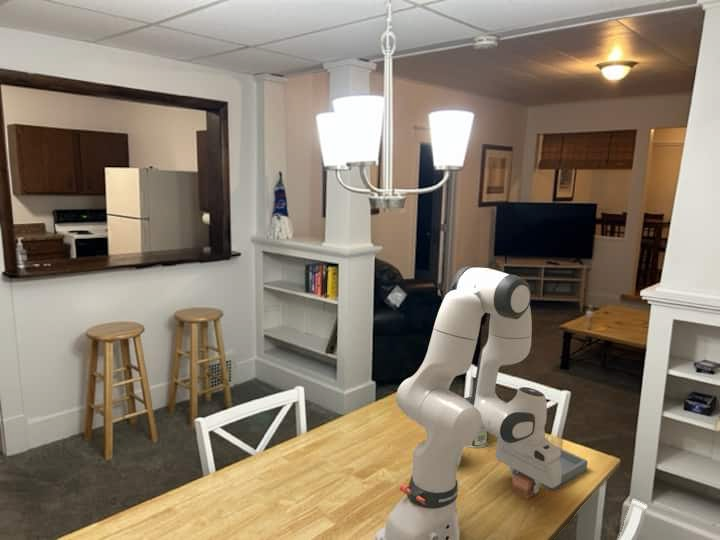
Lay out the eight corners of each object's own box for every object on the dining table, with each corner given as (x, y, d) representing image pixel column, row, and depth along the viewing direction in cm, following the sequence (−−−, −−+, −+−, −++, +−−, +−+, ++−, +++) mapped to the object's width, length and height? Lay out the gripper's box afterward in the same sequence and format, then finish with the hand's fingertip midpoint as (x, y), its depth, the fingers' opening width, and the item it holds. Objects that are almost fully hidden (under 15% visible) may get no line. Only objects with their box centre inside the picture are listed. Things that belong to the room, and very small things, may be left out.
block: (526, 498, 148) (528, 483, 147) (512, 490, 152) (513, 475, 151) (537, 492, 151) (538, 477, 150) (522, 484, 155) (523, 469, 154)
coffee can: (468, 430, 188) (470, 394, 186) (493, 440, 181) (496, 402, 179) (452, 440, 181) (453, 402, 178) (477, 451, 174) (480, 412, 171)
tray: (553, 491, 152) (554, 480, 151) (513, 469, 163) (514, 459, 162) (586, 471, 163) (587, 460, 162) (547, 452, 174) (547, 442, 173)
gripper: (492, 431, 155) (489, 473, 158) (553, 461, 139) (549, 507, 142) (505, 425, 159) (502, 467, 161) (566, 453, 143) (562, 499, 145)
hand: (525, 486), depth 151 cm, fingers closed on block, 5 cm apart
